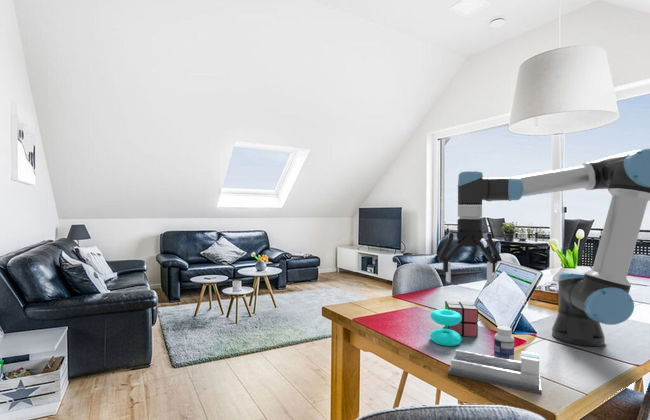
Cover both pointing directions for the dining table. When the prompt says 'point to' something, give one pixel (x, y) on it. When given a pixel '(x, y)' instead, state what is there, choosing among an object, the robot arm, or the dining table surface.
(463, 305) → the puzzle cube
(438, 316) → the donuts
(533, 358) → the block
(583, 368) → the dining table surface
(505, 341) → the pill bottle
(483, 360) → the rail plate
